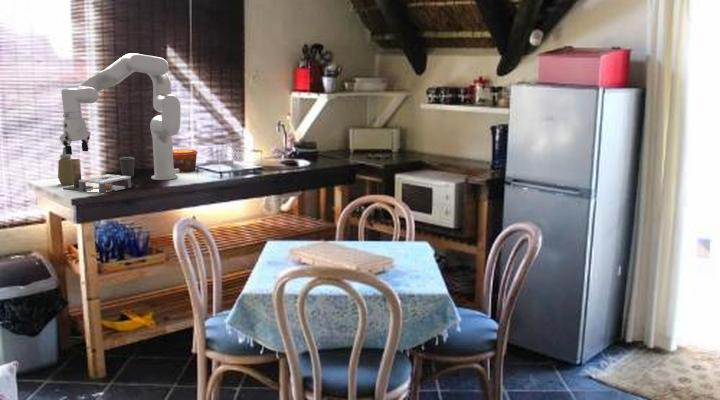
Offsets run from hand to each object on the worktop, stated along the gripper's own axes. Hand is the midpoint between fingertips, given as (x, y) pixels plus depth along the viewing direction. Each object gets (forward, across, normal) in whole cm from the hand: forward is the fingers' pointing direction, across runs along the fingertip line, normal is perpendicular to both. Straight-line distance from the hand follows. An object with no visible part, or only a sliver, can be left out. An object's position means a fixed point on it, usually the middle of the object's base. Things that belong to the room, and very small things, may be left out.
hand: (77, 152), depth 323 cm
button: (+17, +3, -12) cm, 21 cm away
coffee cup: (+18, +36, +5) cm, 40 cm away
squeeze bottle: (+17, +5, +14) cm, 22 cm away
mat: (+16, -1, +1) cm, 17 cm away
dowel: (+16, -1, +1) cm, 16 cm away
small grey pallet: (+17, +3, -12) cm, 21 cm away
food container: (+19, +64, -8) cm, 67 cm away
